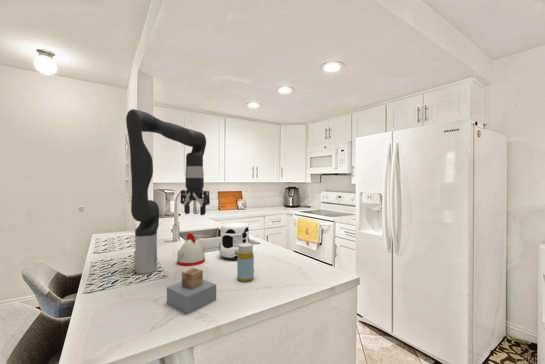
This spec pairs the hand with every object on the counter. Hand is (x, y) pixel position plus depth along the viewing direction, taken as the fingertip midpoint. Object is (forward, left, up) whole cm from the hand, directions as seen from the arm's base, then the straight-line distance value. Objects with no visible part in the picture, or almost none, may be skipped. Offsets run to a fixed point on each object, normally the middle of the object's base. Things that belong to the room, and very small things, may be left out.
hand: (194, 214), depth 109 cm
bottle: (+20, +9, -28) cm, 36 cm away
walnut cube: (+13, -16, -22) cm, 30 cm away
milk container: (-2, +34, -28) cm, 44 cm away
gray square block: (+13, -16, -28) cm, 35 cm away
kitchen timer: (-18, +17, -28) cm, 38 cm away
